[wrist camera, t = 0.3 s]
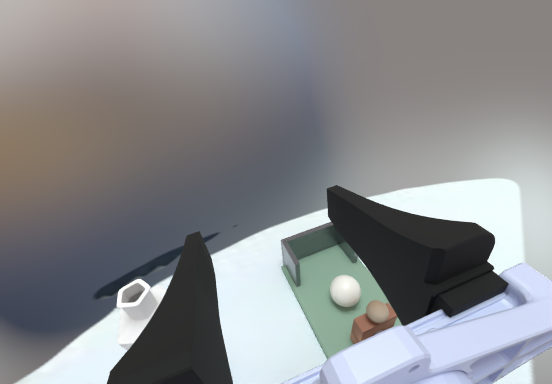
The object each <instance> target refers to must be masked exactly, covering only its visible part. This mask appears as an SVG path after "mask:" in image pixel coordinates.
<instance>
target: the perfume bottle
mask: <svg viewBox="0 0 552 384" xmlns="http://www.w3.org/2000/svg"><path fill="white" fill-rule="evenodd" d="M166 291H167V290H166V289H164V288H163V287H162V286H160V285H157V286H155V287H153V288H152V289H150V286H149V285H148V284H147V283H145V282H144V281H143V280H141V279H137V280H135V281H133V282H132V283H130V284H128V285H126V286H125V287H123V288H121V289H120V290H119V292H118V299H117V307H118V308H121V313H120V322H119V331H118V340H117V342H118V344H119V345H121V346H122V347H124V348H125V349H126V350H129V348H130V347H131V346H132V345H133V343H134V342H135V341H136V339H137V338H138V337H139V335H140V334H141V332H142V331H143V329H144V328H145V327H146V325H147V324H148V322H149V321H150V319H151V317H152V316H153V314H154V313H155V311H156V309H157V307H158V306H159V304H160V302H161V300H162V299H163V297H164V295H165V293H166Z"/></svg>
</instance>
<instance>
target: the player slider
mask: <svg viewBox="0 0 552 384" xmlns="http://www.w3.org/2000/svg"><path fill="white" fill-rule="evenodd" d="M396 319H397V315H396V313H395V311H394V310H393V308H392V307H391V306H390V305H389V303H386V304H384V303H383V302H382V301H379V300H373V301H371V302H369V303H368V305H367V307H366V313H365V314H363V315H361V316H359V317H356V318H354V320H353V325H352V330H351V335H350V338H351V340H352V342H353V343H354V344H357V343H359V342H361V341H363V340H365V339H367V338H369V337H372V336H374V335H376V334H378V333H380V332H382V331H385V330H387V329H389V328H392V327H393V326H394V324H395V321H396Z"/></svg>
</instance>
